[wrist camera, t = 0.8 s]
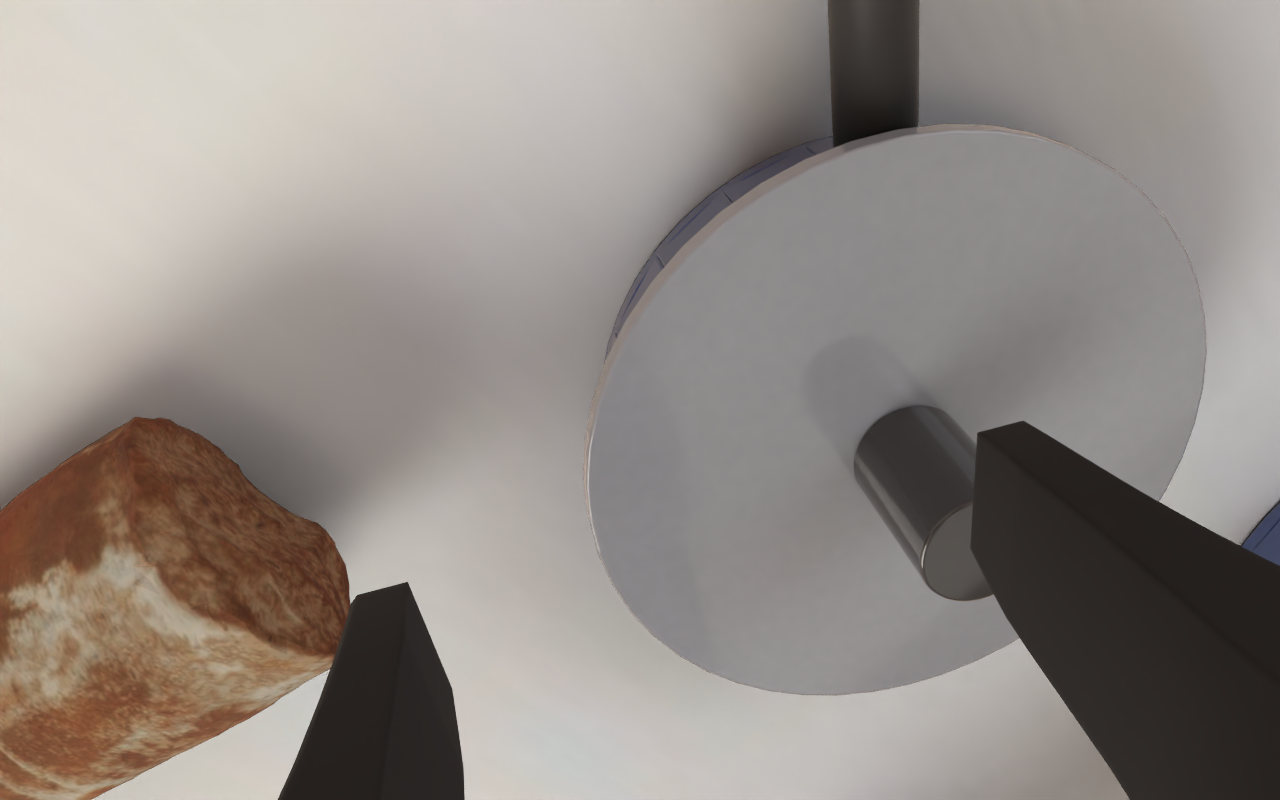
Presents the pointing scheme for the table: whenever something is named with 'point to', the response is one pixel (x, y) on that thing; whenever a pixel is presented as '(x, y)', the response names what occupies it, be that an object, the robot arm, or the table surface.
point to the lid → (878, 398)
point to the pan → (706, 214)
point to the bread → (150, 610)
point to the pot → (1266, 537)
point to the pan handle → (873, 67)
